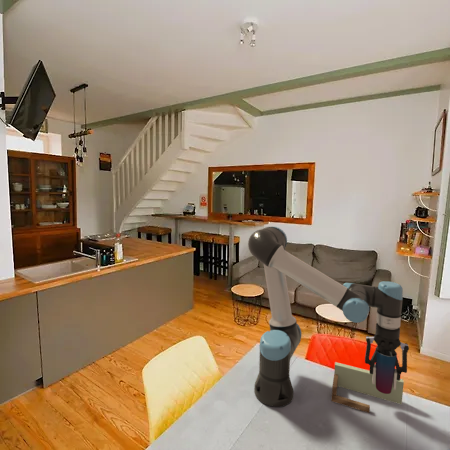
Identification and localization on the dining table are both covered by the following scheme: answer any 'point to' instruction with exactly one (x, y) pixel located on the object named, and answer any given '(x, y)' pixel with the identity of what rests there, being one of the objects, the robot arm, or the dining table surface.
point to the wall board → (365, 383)
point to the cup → (385, 371)
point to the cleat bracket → (345, 400)
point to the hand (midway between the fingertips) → (383, 384)
